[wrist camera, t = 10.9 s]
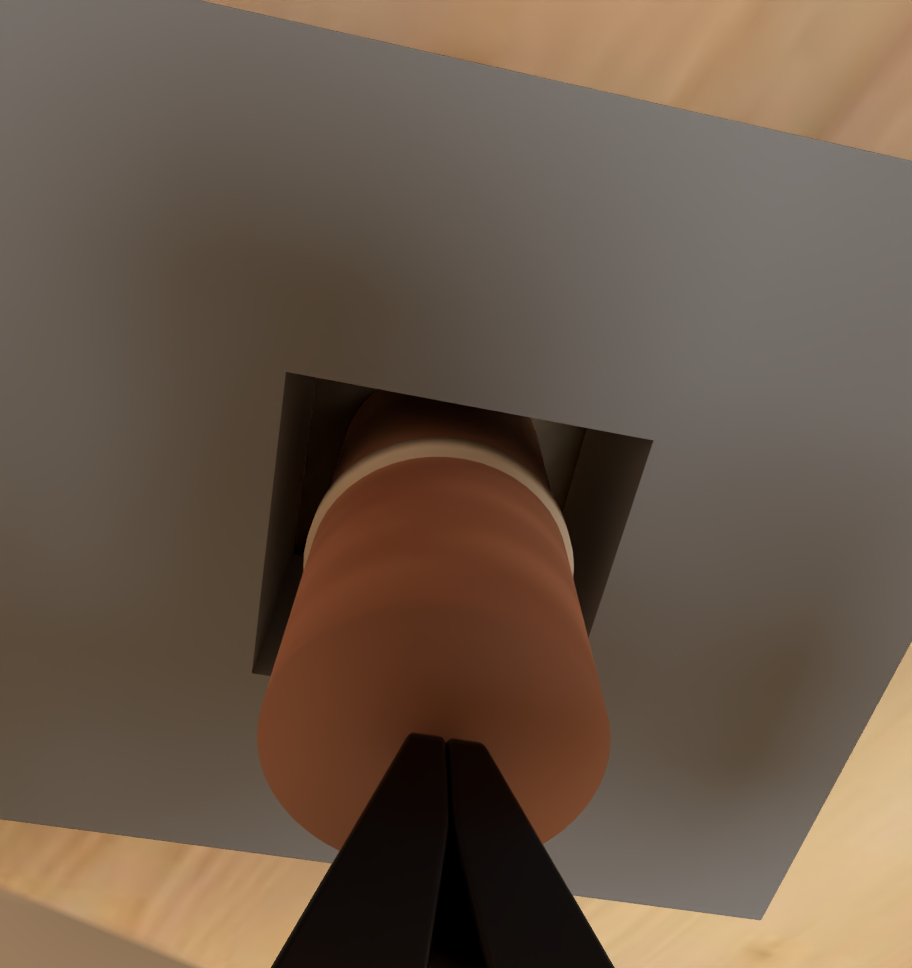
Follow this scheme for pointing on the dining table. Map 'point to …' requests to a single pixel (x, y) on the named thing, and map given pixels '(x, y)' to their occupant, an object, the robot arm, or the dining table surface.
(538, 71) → the dining table surface
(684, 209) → the hole block
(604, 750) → the peg
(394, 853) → the robot arm
